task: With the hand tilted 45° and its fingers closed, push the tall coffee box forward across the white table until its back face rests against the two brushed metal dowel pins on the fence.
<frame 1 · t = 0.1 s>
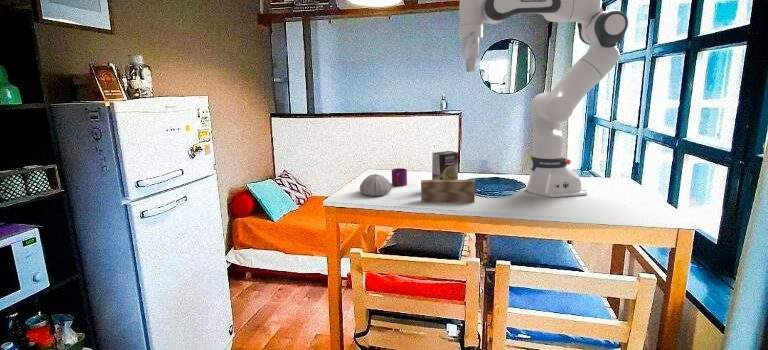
hand: (470, 71, 154), 48 cm above the table, tool pointing down, fingers open, 8 cm apart
sea urchin shell: (375, 193, 166), on the table
coffee box: (444, 190, 168), on the table
mug: (398, 186, 177), on the table
dowel fence: (447, 201, 153), on the table
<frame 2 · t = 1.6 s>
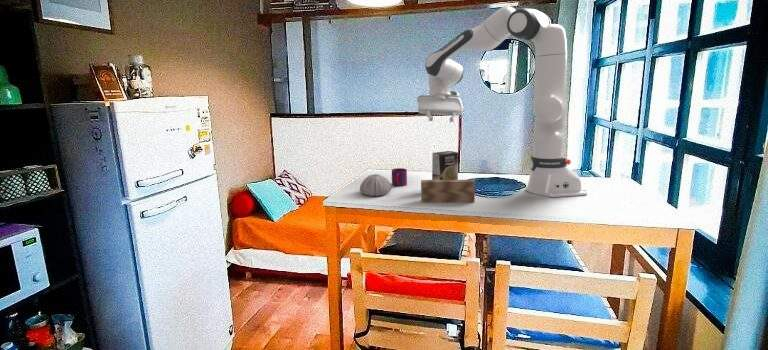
hand: (441, 120, 177), 27 cm above the table, tool tilted 40°, fingers open, 8 cm apart
nothing on the table moved.
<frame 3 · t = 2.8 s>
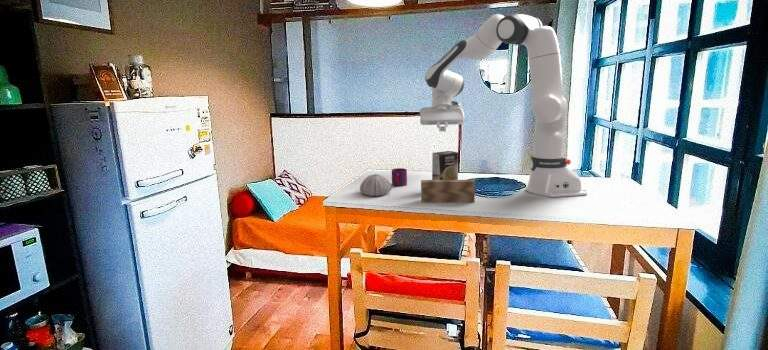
hand: (442, 130, 181), 23 cm above the table, tool tilted 45°, fingers closed
nothing on the table moved.
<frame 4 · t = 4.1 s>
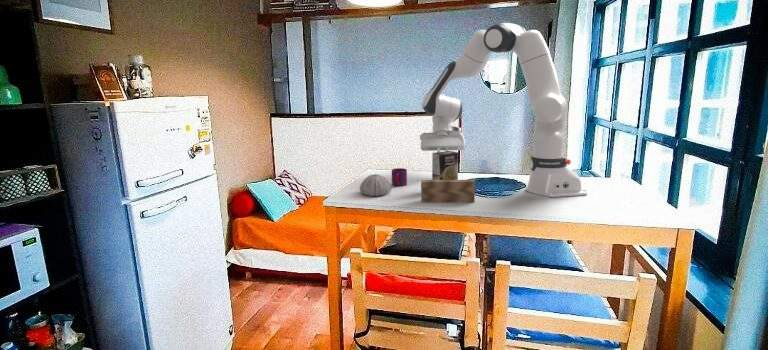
hand: (443, 157, 180), 11 cm above the table, tool tilted 45°, fingers closed
nothing on the table moved.
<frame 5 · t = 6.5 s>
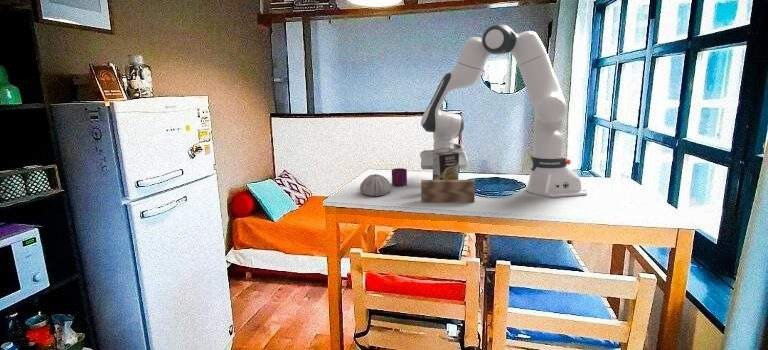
hand: (444, 176, 170), 5 cm above the table, tool tilted 45°, fingers closed
coffee box: (445, 191, 167), on the table, touching gripper
everything else where it was.
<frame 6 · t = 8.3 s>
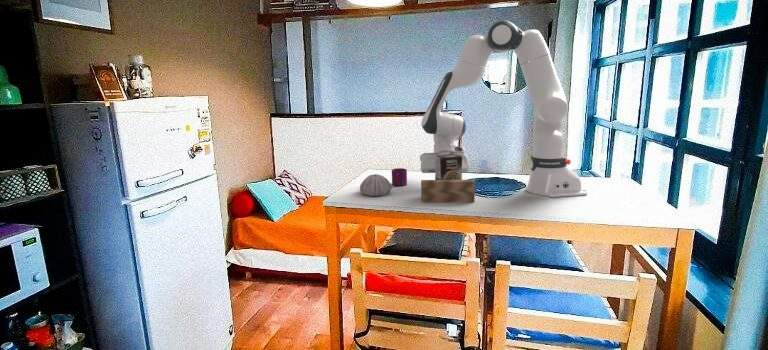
hand: (445, 180, 164), 5 cm above the table, tool tilted 45°, fingers closed
coffee box: (448, 195, 160), on the table, touching gripper
everything else where it was.
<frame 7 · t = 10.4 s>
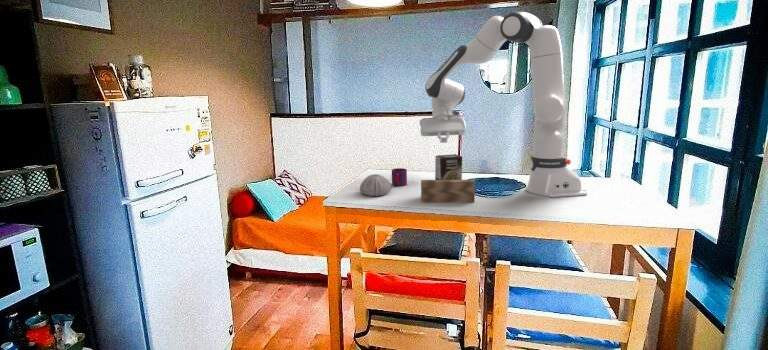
hand: (443, 141, 175), 19 cm above the table, tool tilted 45°, fingers closed
coffee box: (448, 195, 161), on the table
everything else where it was.
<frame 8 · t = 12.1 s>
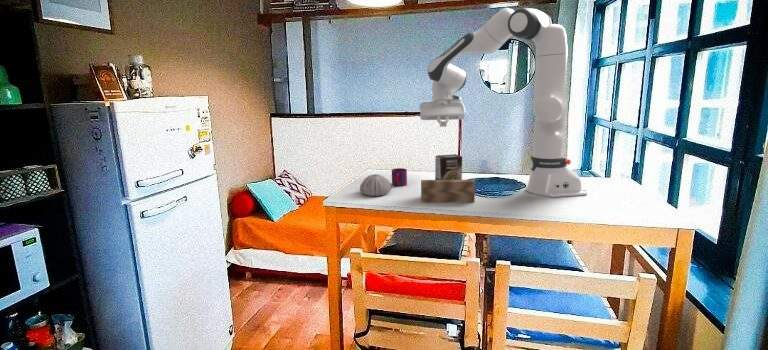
hand: (443, 125, 176), 25 cm above the table, tool tilted 45°, fingers closed
nothing on the table moved.
at the end: coffee box 0.9 cm from the target spot, on the table; coffee box tilted 0° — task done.
